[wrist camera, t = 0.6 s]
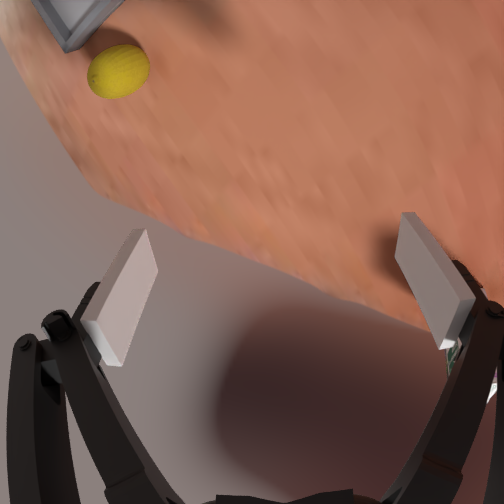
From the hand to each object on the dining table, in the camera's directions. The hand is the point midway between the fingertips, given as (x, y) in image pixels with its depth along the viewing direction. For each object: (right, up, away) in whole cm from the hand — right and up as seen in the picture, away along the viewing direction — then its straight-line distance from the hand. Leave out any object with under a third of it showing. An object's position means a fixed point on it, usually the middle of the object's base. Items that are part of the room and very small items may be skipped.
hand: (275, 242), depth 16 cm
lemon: (-13, +20, +13) cm, 27 cm away
